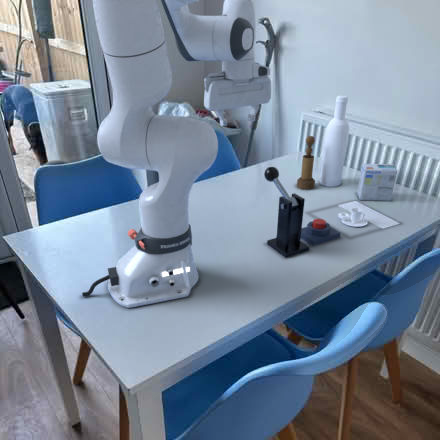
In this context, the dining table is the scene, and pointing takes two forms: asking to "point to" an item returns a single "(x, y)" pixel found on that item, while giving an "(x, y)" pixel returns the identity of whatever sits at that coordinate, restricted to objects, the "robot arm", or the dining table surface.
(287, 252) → the switch bracket
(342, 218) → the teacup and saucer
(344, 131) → the bottle
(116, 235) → the dining table surface
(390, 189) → the light bulb box
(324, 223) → the button
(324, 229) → the button housing
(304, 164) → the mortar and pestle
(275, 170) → the lever
